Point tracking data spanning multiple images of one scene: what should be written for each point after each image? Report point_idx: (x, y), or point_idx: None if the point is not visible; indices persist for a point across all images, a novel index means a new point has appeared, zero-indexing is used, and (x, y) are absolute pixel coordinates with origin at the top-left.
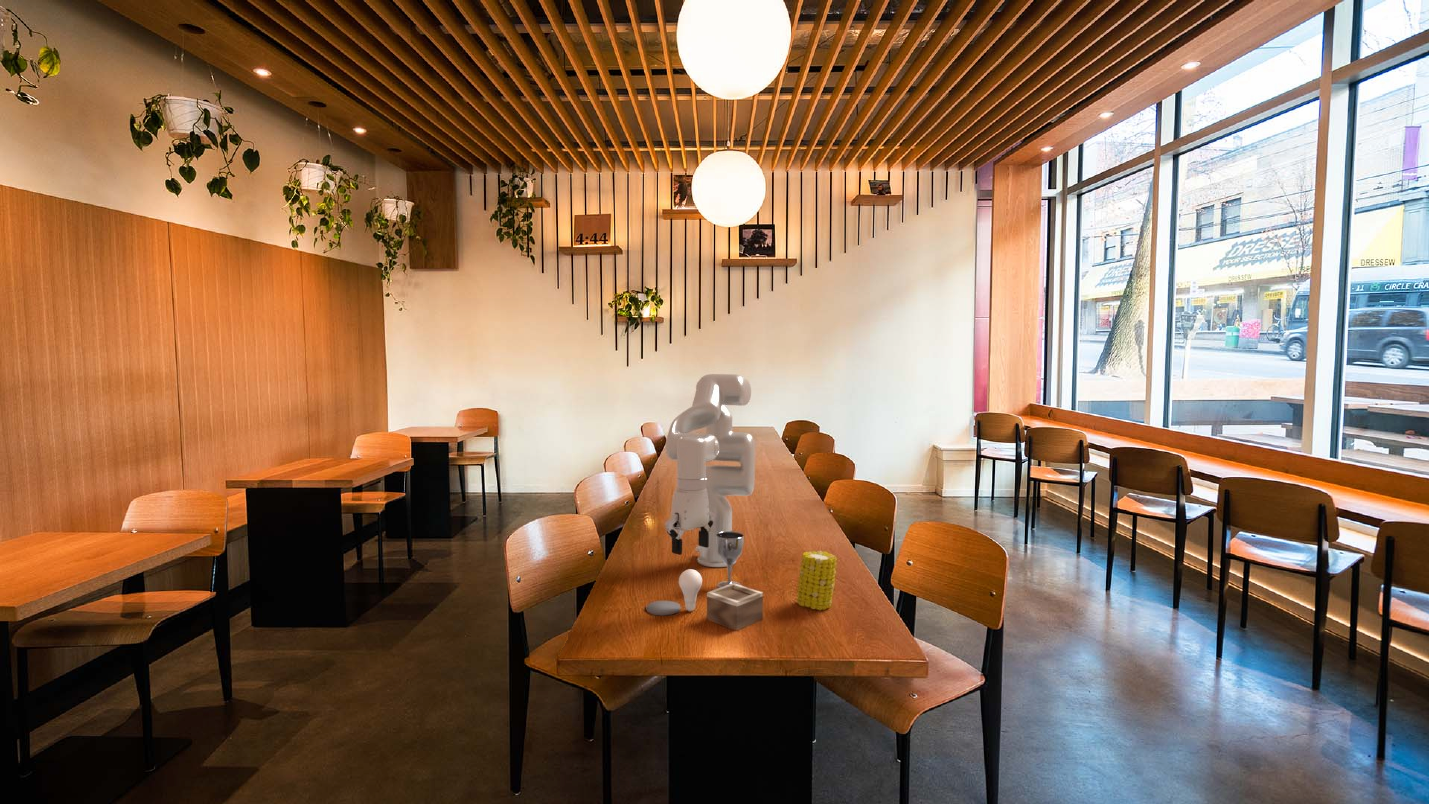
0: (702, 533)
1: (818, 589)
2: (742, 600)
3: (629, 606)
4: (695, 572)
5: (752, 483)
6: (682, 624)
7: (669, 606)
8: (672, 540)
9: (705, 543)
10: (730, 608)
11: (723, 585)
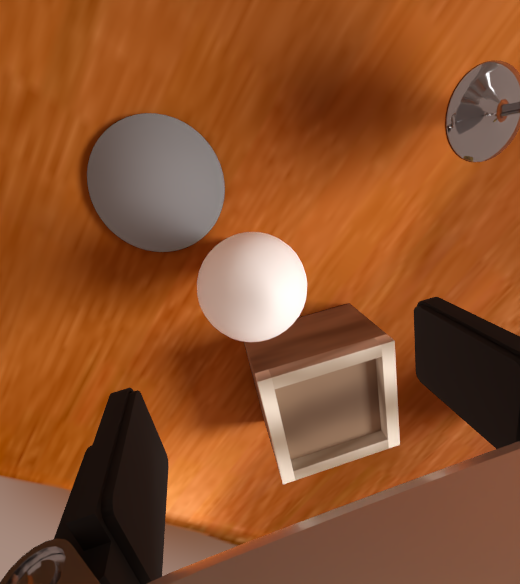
0: (508, 407)
1: None
2: (308, 475)
3: (34, 70)
4: (273, 329)
5: None
6: (159, 332)
7: (181, 197)
8: (59, 538)
9: (435, 386)
10: (272, 445)
11: (466, 113)
